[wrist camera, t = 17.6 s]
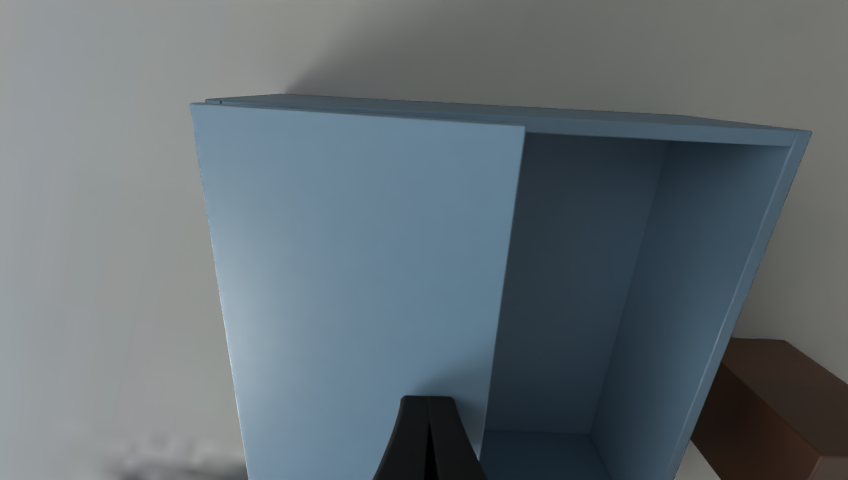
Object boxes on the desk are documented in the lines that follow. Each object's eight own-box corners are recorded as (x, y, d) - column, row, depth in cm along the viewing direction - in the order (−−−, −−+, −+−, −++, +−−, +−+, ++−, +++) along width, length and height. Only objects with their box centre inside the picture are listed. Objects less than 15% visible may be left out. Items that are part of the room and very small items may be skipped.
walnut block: (752, 412, 20) (891, 550, 14) (666, 409, 20) (771, 547, 14) (785, 339, 18) (958, 460, 13) (692, 336, 18) (823, 456, 12)
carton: (592, 433, 21) (647, 546, 16) (305, 423, 20) (267, 536, 15) (679, 115, 15) (814, 131, 10) (279, 93, 14) (203, 98, 9)
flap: (460, 594, 14) (459, 606, 13) (265, 547, 15) (260, 558, 14) (525, 124, 8) (526, 125, 8) (199, 102, 9) (188, 102, 9)
